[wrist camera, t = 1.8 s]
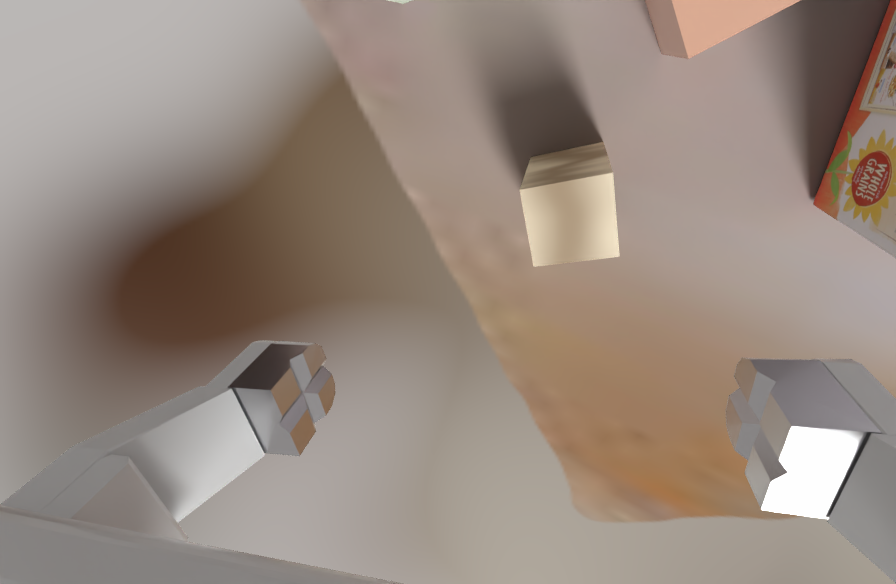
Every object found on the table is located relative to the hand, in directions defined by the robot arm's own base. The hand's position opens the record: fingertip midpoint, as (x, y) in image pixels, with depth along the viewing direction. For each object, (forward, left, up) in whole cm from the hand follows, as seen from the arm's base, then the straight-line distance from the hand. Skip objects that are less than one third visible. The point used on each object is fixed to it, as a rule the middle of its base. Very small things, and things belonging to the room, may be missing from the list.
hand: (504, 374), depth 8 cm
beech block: (-1, +4, -25) cm, 25 cm away
